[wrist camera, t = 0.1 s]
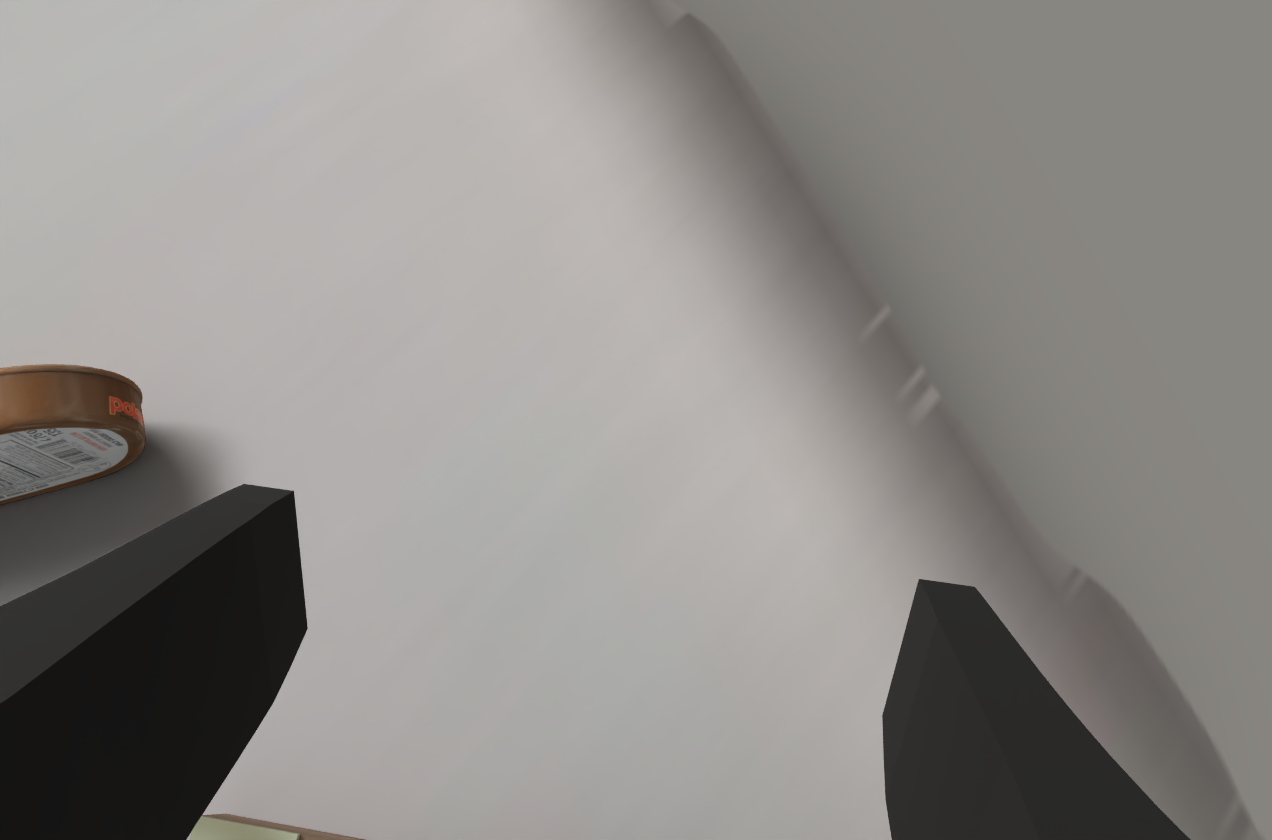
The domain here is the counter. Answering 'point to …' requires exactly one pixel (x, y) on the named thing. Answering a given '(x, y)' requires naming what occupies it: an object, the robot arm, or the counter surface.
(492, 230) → the counter surface
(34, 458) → the tin
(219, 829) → the walnut deck
